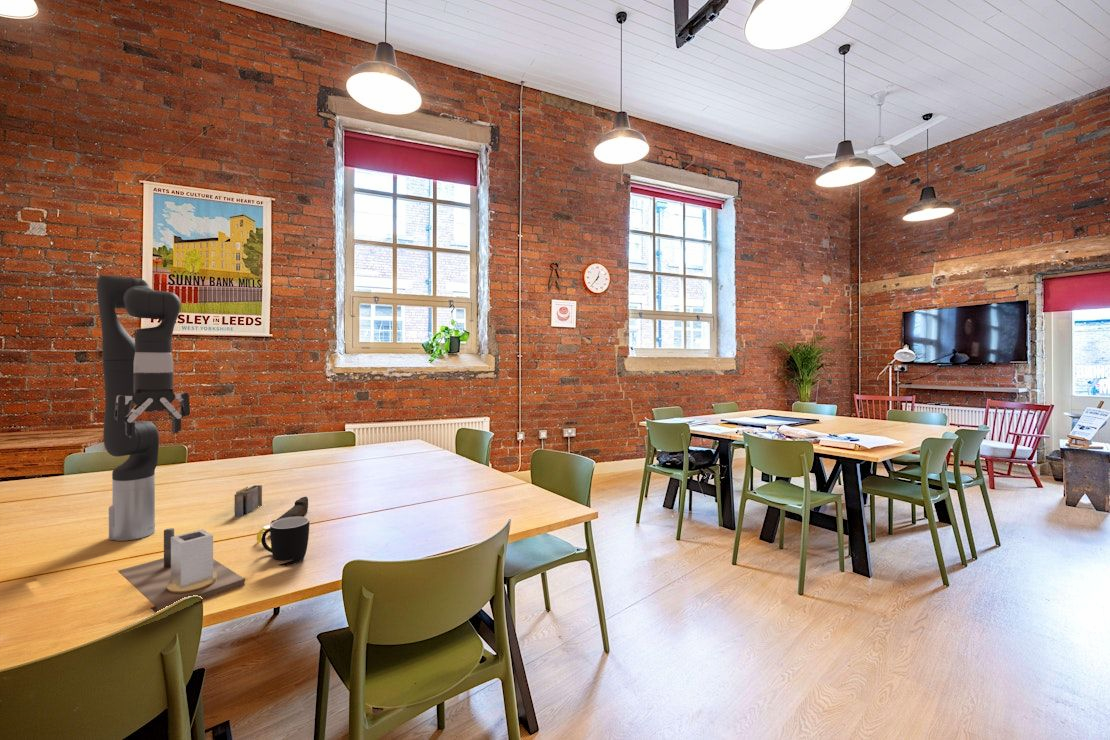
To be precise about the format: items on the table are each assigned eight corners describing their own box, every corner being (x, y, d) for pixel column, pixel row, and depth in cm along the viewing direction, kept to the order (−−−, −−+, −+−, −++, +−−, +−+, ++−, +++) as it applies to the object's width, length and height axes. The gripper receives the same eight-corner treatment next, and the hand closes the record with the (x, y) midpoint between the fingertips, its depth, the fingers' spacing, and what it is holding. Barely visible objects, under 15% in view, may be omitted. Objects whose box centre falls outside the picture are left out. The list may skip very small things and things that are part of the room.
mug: (316, 553, 127) (316, 516, 127) (296, 568, 118) (296, 529, 118) (273, 552, 128) (273, 515, 128) (250, 566, 119) (250, 527, 119)
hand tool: (286, 535, 140) (286, 516, 140) (269, 535, 140) (269, 517, 140) (317, 510, 163) (317, 494, 163) (302, 510, 163) (302, 494, 162)
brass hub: (158, 596, 101) (158, 564, 101) (177, 577, 109) (177, 547, 109) (208, 590, 104) (208, 559, 104) (222, 572, 112) (222, 543, 112)
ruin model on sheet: (244, 517, 155) (244, 488, 155) (234, 517, 155) (234, 488, 155) (263, 506, 166) (263, 479, 166) (254, 506, 166) (254, 479, 166)
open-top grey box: (181, 588, 102) (180, 543, 102) (170, 580, 106) (170, 537, 106) (213, 578, 107) (213, 535, 107) (202, 571, 111) (202, 529, 110)
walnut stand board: (117, 576, 112) (117, 533, 112) (197, 554, 125) (197, 515, 125) (158, 615, 96) (157, 564, 96) (244, 585, 110) (244, 540, 109)
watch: (254, 549, 130) (254, 527, 129) (261, 545, 132) (261, 524, 132) (275, 550, 129) (275, 528, 129) (281, 546, 132) (281, 525, 132)
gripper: (183, 369, 125) (183, 430, 125) (111, 370, 113) (111, 437, 114) (193, 370, 121) (193, 433, 121) (120, 371, 109) (120, 441, 109)
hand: (153, 435), depth 117 cm, fingers open, 8 cm apart
